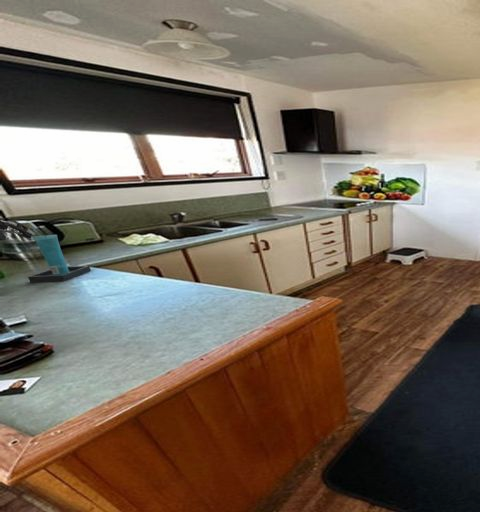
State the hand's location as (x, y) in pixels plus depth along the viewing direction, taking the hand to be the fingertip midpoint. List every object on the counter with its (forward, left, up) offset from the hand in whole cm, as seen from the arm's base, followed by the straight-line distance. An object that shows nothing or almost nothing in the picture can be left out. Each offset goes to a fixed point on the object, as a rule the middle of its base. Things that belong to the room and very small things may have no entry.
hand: (17, 237), depth 111 cm
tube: (-2, +11, -21) cm, 24 cm away
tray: (-2, +11, -22) cm, 25 cm away
